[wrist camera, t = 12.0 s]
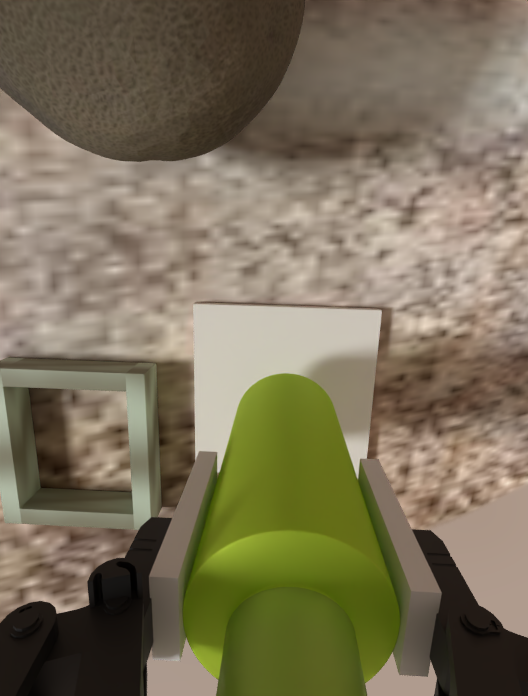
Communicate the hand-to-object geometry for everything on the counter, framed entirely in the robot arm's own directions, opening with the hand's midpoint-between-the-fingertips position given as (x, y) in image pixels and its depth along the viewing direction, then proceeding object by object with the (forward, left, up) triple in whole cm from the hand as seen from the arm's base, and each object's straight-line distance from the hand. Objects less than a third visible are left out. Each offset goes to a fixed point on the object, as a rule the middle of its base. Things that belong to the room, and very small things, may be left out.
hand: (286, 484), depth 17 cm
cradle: (+4, -14, -11) cm, 18 cm away
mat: (0, 0, -11) cm, 11 cm away
